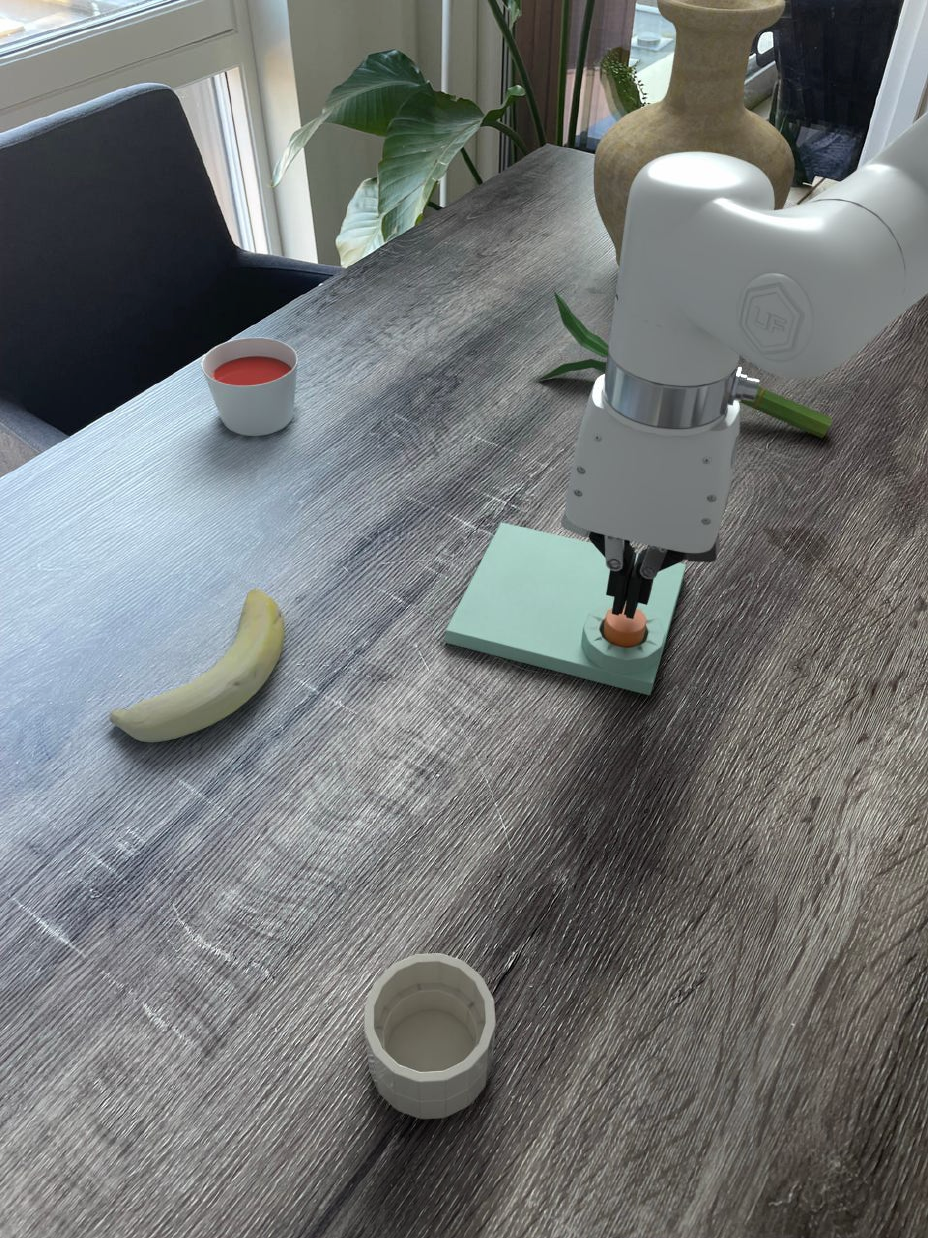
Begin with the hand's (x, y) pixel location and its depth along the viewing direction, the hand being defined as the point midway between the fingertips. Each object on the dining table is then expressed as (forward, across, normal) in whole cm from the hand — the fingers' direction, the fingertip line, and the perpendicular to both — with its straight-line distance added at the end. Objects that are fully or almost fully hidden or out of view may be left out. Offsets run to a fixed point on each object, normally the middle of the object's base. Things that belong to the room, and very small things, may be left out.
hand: (626, 603), depth 72 cm
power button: (+3, 0, 0) cm, 3 cm away
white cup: (+6, +3, +33) cm, 34 cm away
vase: (+6, +8, -66) cm, 67 cm away
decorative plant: (+6, +2, -38) cm, 38 cm away
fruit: (+6, +28, +12) cm, 31 cm away
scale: (+6, +5, -4) cm, 8 cm away
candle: (+6, +41, -20) cm, 46 cm away
